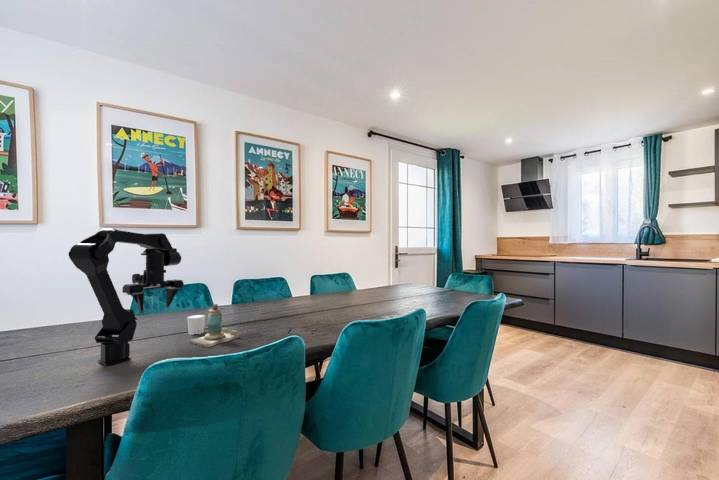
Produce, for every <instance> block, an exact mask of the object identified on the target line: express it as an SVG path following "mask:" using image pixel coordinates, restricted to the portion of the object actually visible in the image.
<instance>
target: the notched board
mask: <svg viewBox="0 0 719 480" xmlns="http://www.w3.org/2000/svg"><path fill="white" fill-rule="evenodd" d="M221 332H224V337H223V338H220V339H214V340H208V339H205V335H204V336H201V337H196V338H192V339H190V340H189V344H192V343H193V344H192V345H195V344H197V345H196V346H199V347H204V348H209V347H212V346H215V345H219V344H223V343H225V342H228V341H231V340H235V339H239V330H235V329H231V330H230V331H229V332H228V328H226V327H222V331H221Z"/></svg>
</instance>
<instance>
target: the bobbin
mask: <svg viewBox="0 0 719 480" xmlns="http://www.w3.org/2000/svg"><path fill="white" fill-rule="evenodd" d="M218 307H219V305H218V304H212V308H210V309H208V314H207V333H205V335H204V336H205V339H208V340H214V339H220V338H223V337H224V332H221V331H222V328H223V327H222V325H223V324H222V322H223V321H222V320H223V319H222V318H223V317H222V315H223V313H222V308H218Z"/></svg>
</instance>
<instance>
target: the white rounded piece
mask: <svg viewBox="0 0 719 480" xmlns="http://www.w3.org/2000/svg"><path fill="white" fill-rule="evenodd" d="M186 318H187V329H188V330H187V331H188V335H189V334H190V336H195V335H194V334H199V335H201V333H202V334H204V333H203V332H205V325H206V324H205V323H206V315H205V314H191V315H189V316H187V317H186Z"/></svg>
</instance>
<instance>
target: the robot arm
mask: <svg viewBox="0 0 719 480" xmlns="http://www.w3.org/2000/svg"><path fill="white" fill-rule="evenodd" d="M116 243H119V244H131V245H137V246H139V247H141V248H144V249H145V250H143V251H142V252H141V253H140V255H141V256H145V269H143V274H140V273H134V274H132V276H131V283H128V284H127V283H126V284H123V287H122V293H123V294H126V295H128V296H131V297H132V299H133V300H134V301H135V303H136V306H137V309H138V311H139V313H142V312H144V311H143V310H144V300H145V299H144V297H145V295H144V294H145V293H144V292H143V291H146V290H154V289H162V288H164V291H165V293H166V295H165V297H166V298H165V307H166V308H170V305H171V303H172V302H173V300H174V298H175V296H176V295H177V293H178V292H179V291H181V288H182V289H183V288H184V285H185V283H184V281H183V280H182V279H167V280H165V274H166V273H167V269H165V267H169V266H170V267H171V266H177V265H179V264H180V263H181V262H182V256H181V254H180V252H179V251H177V250H178V249H177V248H173V246H172V245H171V242H170V240H169V239H168V237H167V235H166V233H163V232H162V233H161V232H160V233H159V232H158V233H153V232H152V233H149V232H148V233H138V232H134V231H133V232H131V231H126V230H119V229H116V228H102V229H101V230H98V231H97V232H95V234H93V235H91V236H89V237H86V238H84V239H82V240H81V241H80V242H79V243H76V244H73V245H72V247H70V249H69V251H68V258H69V259H70V261H71V262H72V263H73V265H74V266H75V268H77V269H78V270H79V271H81V272H82V273H83V274H84V275H85V276H86V278H87V280H88V282H89V284H90V286H91V288H92V291H93V293H94V295H95V297H96V299H97V301H98V304H99V306H100V308H101V310H102V313H103V316H102V319H101V324H102V325H101V326H102V327H101V328H100V330H99V331H98V332H97V334H96V335H95V336H94V340H95V343H97V344H100V359H99V360H97V363H99V364H102V365H103V366H107V367H109V366H113V365H116V364H119V363H122V362H123V363H124V362H126V361H129V360H131V357H130V354H131V353H130V351H131V350H130V347H131V344H130V342H132V341H133V339H134V335H135V331H136V329H137V324H138V323H137V320H138V318H137V317H136V315H135V312H134V309H127V308H124V307H123V304H122V302H121V300H120V297H119V295H118V293H117V290H116V288H115V286H114V284H113V281H112V279H111V277H110V276H111V275H110V273H109V271H108V265H109V262H110V260H109V259H110V258H109V255H110V253H112V251H114V249H115V246H116Z"/></svg>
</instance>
